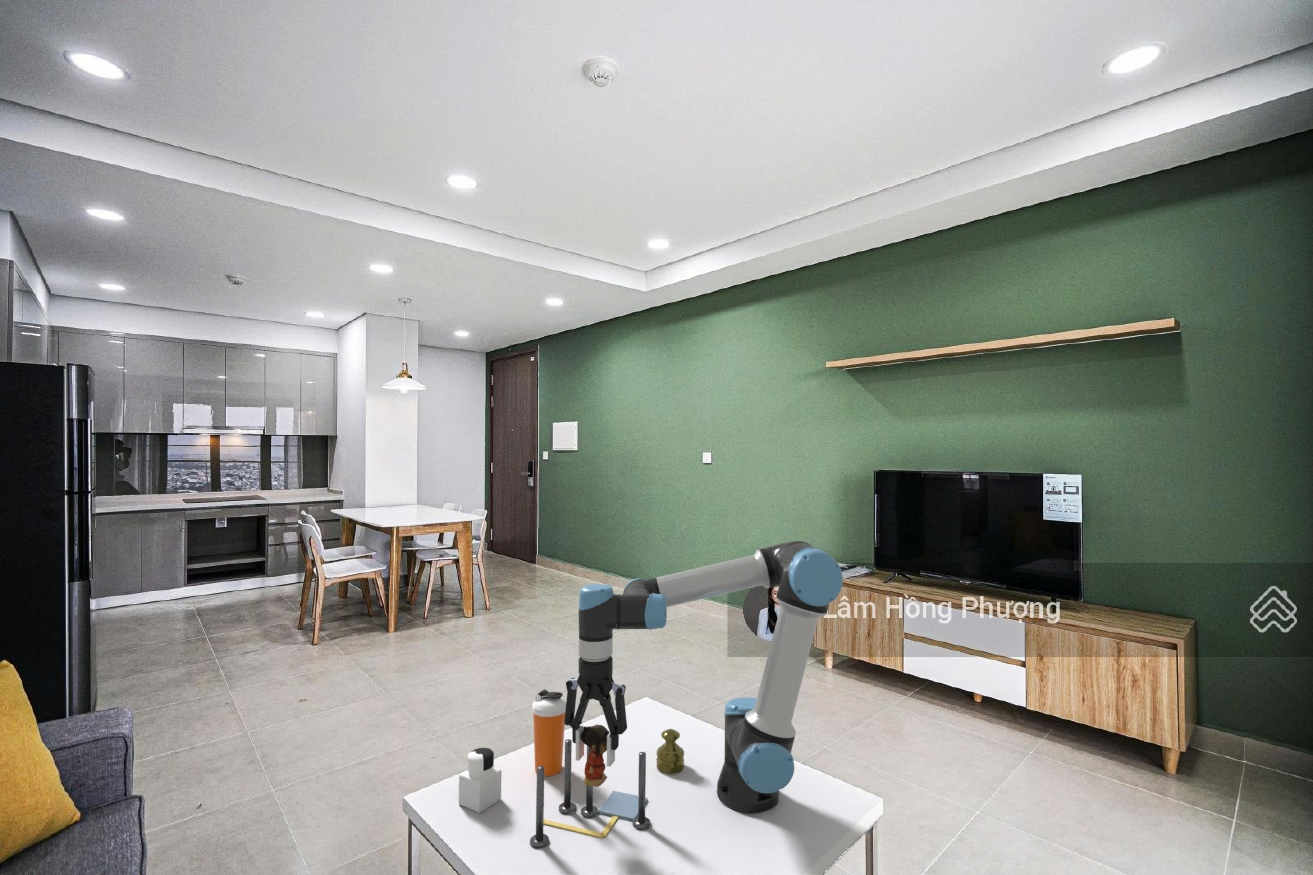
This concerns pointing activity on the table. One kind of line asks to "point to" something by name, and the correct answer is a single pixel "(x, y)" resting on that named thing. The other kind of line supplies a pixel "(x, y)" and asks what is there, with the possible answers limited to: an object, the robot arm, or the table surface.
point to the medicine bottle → (480, 781)
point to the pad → (621, 806)
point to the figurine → (595, 754)
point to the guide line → (584, 831)
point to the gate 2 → (641, 820)
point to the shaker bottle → (549, 731)
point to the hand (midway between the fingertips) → (595, 760)
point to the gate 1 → (564, 808)
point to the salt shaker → (670, 753)
